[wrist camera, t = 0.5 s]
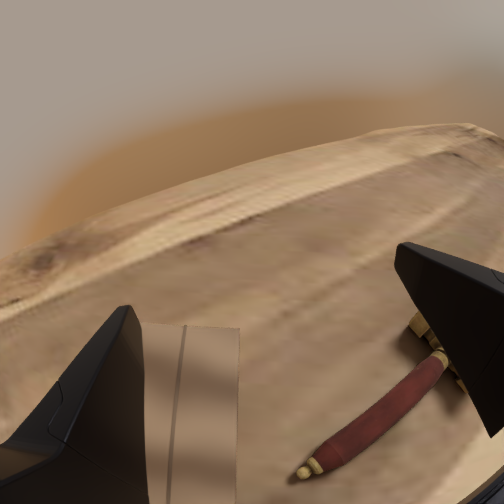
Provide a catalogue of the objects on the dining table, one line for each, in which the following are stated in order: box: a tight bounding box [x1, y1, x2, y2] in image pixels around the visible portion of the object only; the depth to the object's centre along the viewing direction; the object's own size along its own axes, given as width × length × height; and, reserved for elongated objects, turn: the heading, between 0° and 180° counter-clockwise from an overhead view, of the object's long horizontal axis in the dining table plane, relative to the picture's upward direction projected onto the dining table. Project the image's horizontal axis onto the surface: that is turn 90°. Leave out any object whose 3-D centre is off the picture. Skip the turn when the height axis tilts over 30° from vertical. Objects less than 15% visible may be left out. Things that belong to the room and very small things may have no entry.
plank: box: [140, 322, 240, 504], centre depth 15 cm, size 24×10×3 cm, turn 0°
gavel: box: [296, 311, 468, 479], centre depth 19 cm, size 21×5×10 cm
